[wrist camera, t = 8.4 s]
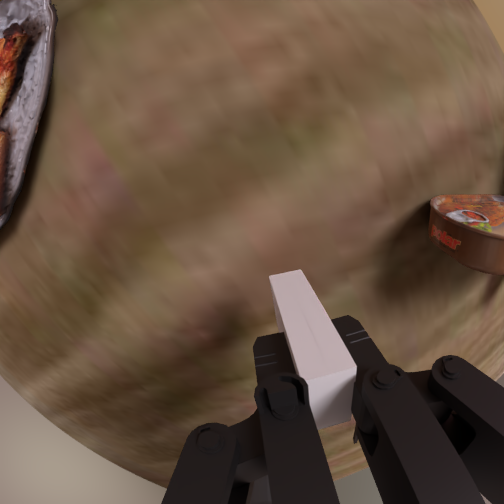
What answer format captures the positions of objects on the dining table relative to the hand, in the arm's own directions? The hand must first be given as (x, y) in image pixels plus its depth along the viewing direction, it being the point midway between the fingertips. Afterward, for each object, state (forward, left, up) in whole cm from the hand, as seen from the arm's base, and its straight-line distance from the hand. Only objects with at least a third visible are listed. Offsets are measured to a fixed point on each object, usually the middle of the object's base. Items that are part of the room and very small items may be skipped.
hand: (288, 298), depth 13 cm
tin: (0, -17, -5) cm, 18 cm away
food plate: (+19, +24, -6) cm, 30 cm away
